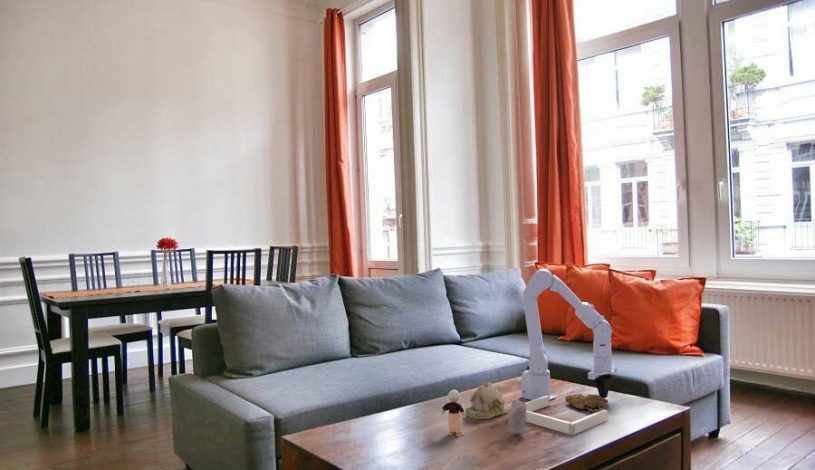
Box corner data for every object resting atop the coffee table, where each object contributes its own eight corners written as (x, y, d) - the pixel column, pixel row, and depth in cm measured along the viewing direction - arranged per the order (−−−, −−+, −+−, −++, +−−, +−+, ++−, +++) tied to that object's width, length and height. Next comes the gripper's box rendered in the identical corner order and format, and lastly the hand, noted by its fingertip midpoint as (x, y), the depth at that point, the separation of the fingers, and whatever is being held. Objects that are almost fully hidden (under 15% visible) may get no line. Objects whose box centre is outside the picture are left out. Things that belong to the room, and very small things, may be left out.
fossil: (512, 438, 167) (511, 402, 167) (504, 434, 170) (503, 399, 170) (528, 434, 170) (527, 399, 169) (521, 431, 173) (520, 396, 172)
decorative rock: (619, 413, 188) (587, 402, 202) (619, 399, 189) (587, 390, 202) (591, 416, 184) (560, 405, 198) (591, 403, 184) (560, 392, 198)
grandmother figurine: (468, 432, 172) (467, 389, 172) (465, 437, 169) (464, 392, 169) (443, 430, 175) (442, 387, 175) (439, 435, 171) (438, 390, 171)
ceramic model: (482, 405, 199) (481, 375, 199) (512, 410, 192) (511, 379, 192) (459, 416, 188) (458, 384, 188) (490, 422, 181) (489, 389, 181)
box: (510, 417, 185) (510, 407, 185) (546, 404, 197) (546, 395, 197) (572, 435, 168) (572, 424, 168) (607, 420, 180) (607, 410, 180)
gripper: (601, 361, 191) (602, 404, 191) (625, 354, 200) (625, 394, 201) (582, 358, 196) (582, 399, 197) (606, 351, 206) (606, 390, 206)
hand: (603, 397), depth 199 cm, fingers closed
